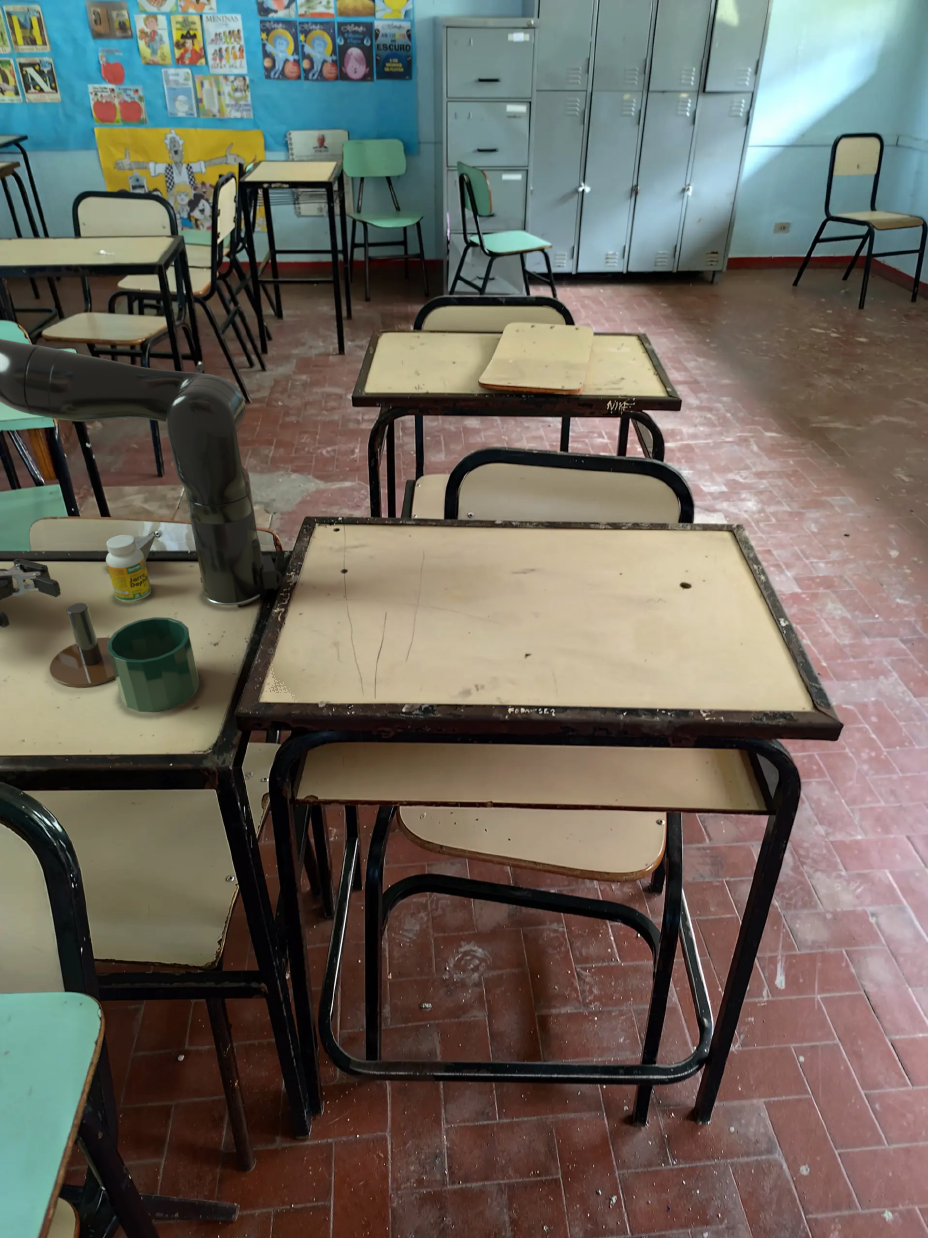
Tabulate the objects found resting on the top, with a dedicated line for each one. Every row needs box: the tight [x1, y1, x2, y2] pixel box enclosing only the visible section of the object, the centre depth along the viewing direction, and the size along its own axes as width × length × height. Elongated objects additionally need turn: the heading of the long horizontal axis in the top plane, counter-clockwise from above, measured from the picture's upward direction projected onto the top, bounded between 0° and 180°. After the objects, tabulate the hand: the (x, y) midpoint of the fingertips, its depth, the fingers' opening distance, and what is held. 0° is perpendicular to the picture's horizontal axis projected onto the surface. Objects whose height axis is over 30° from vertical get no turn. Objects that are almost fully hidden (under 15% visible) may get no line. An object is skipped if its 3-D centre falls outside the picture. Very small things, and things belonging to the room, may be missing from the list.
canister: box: [108, 616, 200, 713], centre depth 110 cm, size 10×10×8 cm
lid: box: [49, 602, 116, 688], centre depth 114 cm, size 11×11×10 cm
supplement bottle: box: [105, 534, 152, 602], centre depth 129 cm, size 5×5×10 cm
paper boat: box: [133, 530, 157, 563], centre depth 138 cm, size 12×6×9 cm
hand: (32, 604), depth 115 cm, fingers open, 8 cm apart
